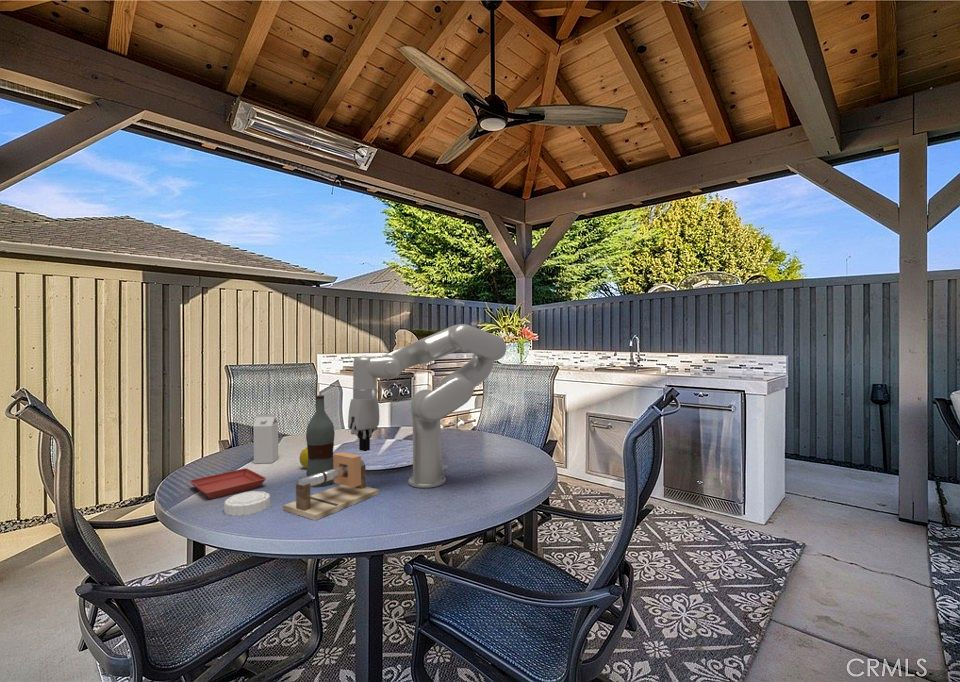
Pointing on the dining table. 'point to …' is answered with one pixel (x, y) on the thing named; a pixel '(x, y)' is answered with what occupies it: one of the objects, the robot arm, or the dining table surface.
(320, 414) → the bottle
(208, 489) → the plant saucer
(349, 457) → the collar
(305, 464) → the lemon
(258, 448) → the milk carton
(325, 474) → the pipe
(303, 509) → the pipe stand
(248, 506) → the mooncake
